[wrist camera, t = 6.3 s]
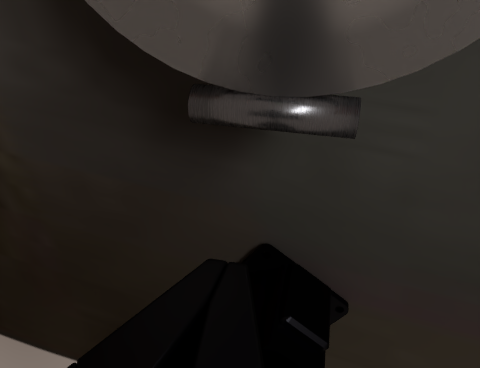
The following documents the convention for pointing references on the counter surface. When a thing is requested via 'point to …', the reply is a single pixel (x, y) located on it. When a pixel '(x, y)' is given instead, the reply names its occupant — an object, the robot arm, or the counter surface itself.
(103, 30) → the counter surface
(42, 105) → the counter surface
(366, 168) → the counter surface
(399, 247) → the counter surface
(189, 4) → the lid
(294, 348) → the robot arm
